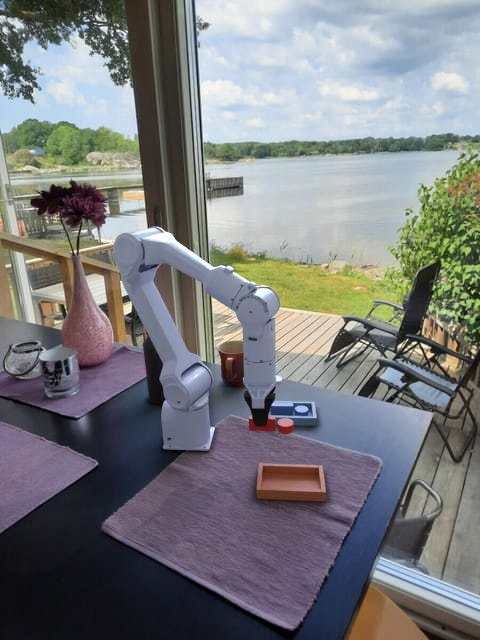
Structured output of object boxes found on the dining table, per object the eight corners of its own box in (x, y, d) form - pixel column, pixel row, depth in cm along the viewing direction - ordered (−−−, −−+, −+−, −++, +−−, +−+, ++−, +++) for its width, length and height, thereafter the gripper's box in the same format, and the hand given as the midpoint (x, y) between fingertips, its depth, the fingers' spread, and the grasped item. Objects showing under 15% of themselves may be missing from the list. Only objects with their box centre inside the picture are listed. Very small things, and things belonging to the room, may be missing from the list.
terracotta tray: (256, 498, 75) (256, 489, 74) (258, 471, 81) (258, 462, 81) (325, 501, 74) (326, 492, 73) (322, 473, 80) (322, 465, 80)
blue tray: (262, 424, 96) (262, 417, 96) (264, 407, 103) (264, 400, 102) (316, 425, 95) (316, 418, 94) (314, 408, 102) (314, 401, 101)
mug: (223, 374, 120) (221, 339, 117) (255, 376, 118) (254, 341, 115) (212, 396, 109) (209, 358, 106) (246, 398, 107) (245, 360, 104)
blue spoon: (270, 418, 98) (270, 407, 97) (271, 411, 101) (270, 400, 100) (308, 418, 97) (308, 408, 96) (307, 411, 100) (308, 401, 99)
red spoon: (248, 433, 82) (248, 421, 81) (249, 424, 85) (249, 412, 84) (293, 434, 81) (293, 422, 80) (293, 425, 84) (293, 413, 83)
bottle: (143, 402, 107) (134, 325, 101) (158, 389, 113) (151, 315, 106) (167, 407, 105) (159, 328, 98) (181, 393, 111) (175, 318, 104)
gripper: (282, 374, 71) (282, 446, 75) (282, 340, 84) (282, 403, 89) (238, 374, 72) (241, 445, 76) (245, 340, 85) (247, 402, 90)
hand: (260, 422), depth 83 cm, fingers closed on red spoon
